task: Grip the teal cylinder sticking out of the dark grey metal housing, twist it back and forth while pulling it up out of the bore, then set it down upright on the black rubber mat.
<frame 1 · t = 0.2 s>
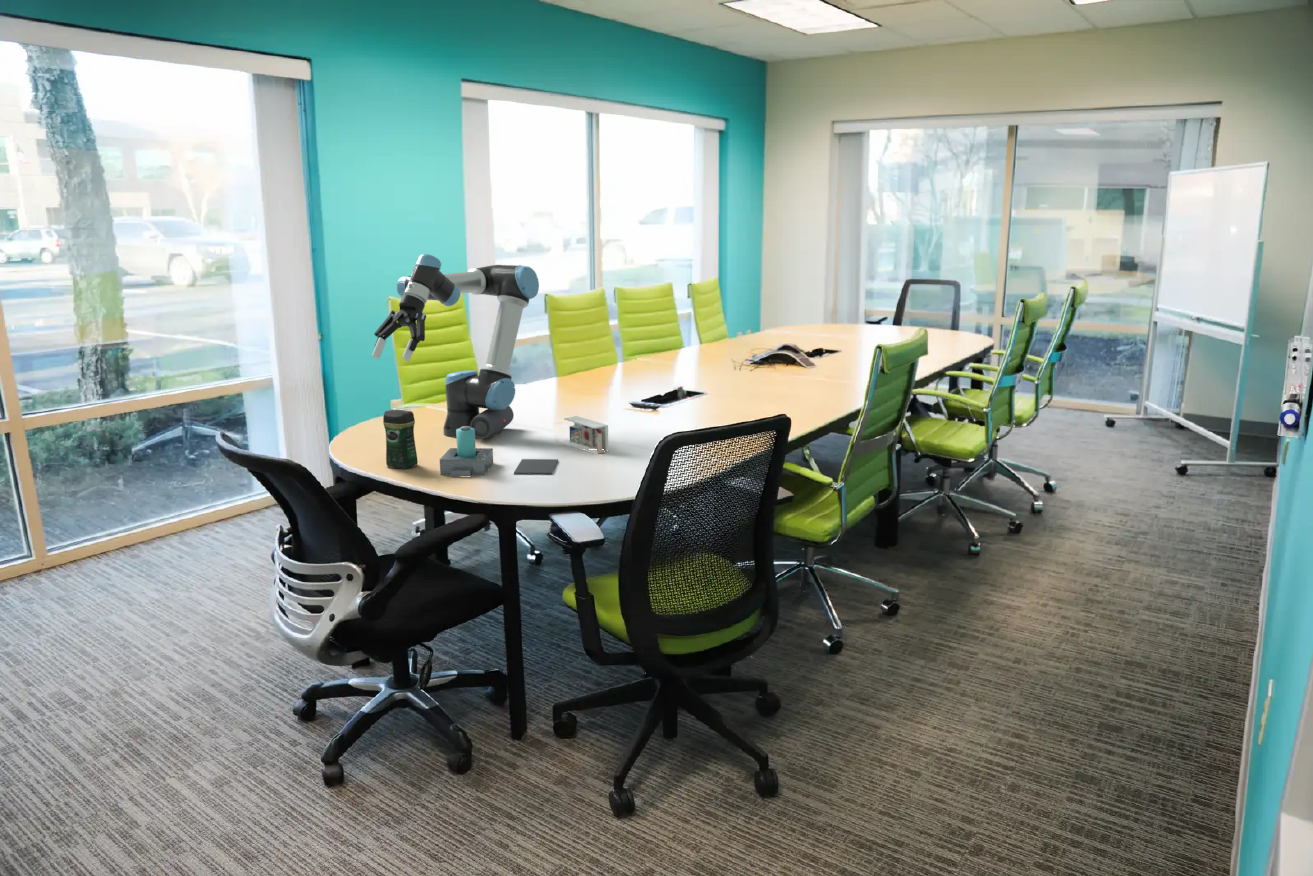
hand: (390, 358, 290), 36 cm above the table, tool tilted 35°, fingers open, 13 cm apart
coffee jar: (402, 466, 301), on the table
bluetooth speaker: (492, 435, 342), on the table, touching arm
mat: (536, 467, 299), on the table
teal cylinder: (466, 448, 296), in the housing
housing: (467, 468, 297), on the table
cigarette display: (587, 448, 324), on the table
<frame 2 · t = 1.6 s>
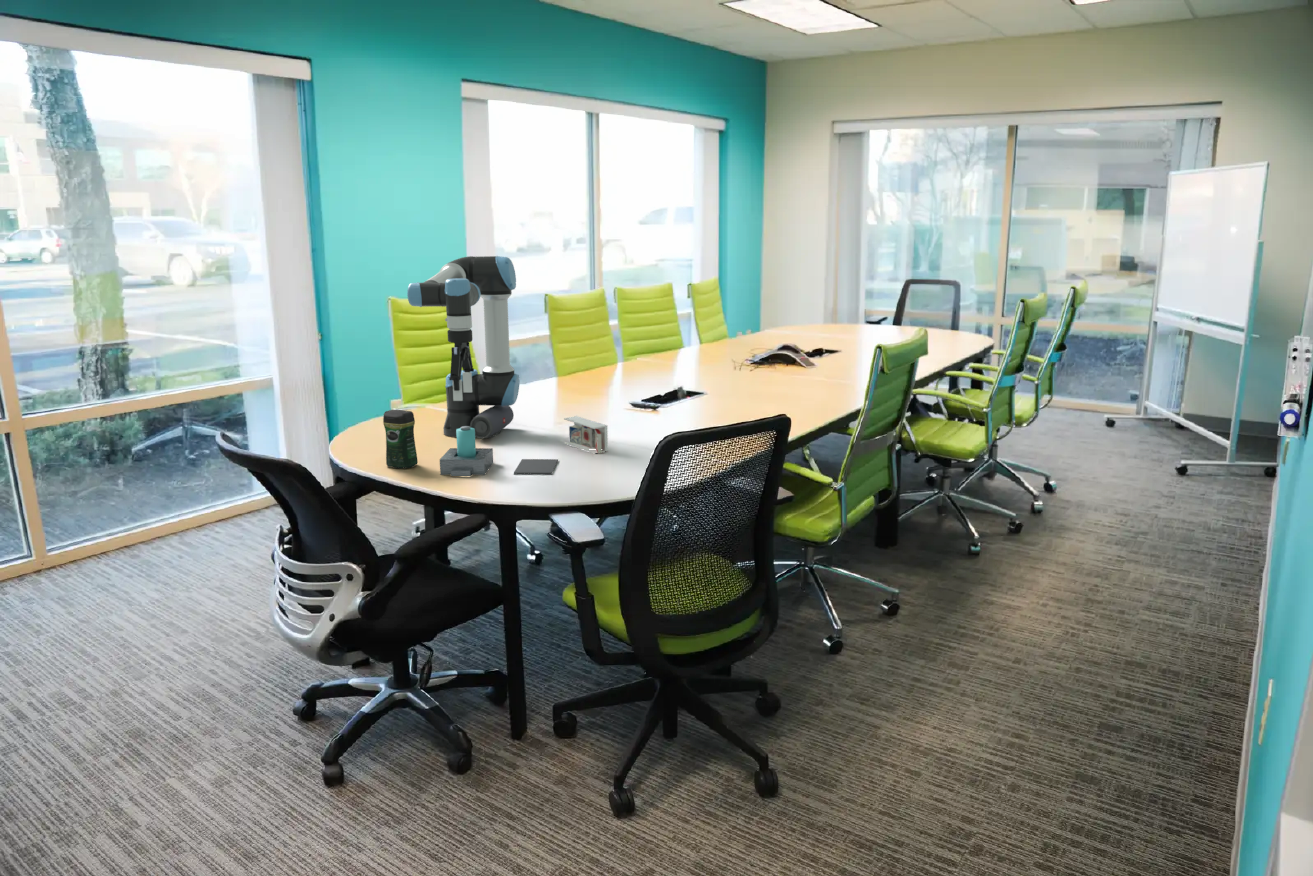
hand: (463, 396, 292), 24 cm above the table, tool pointing down, fingers open, 13 cm apart
nothing on the table moved.
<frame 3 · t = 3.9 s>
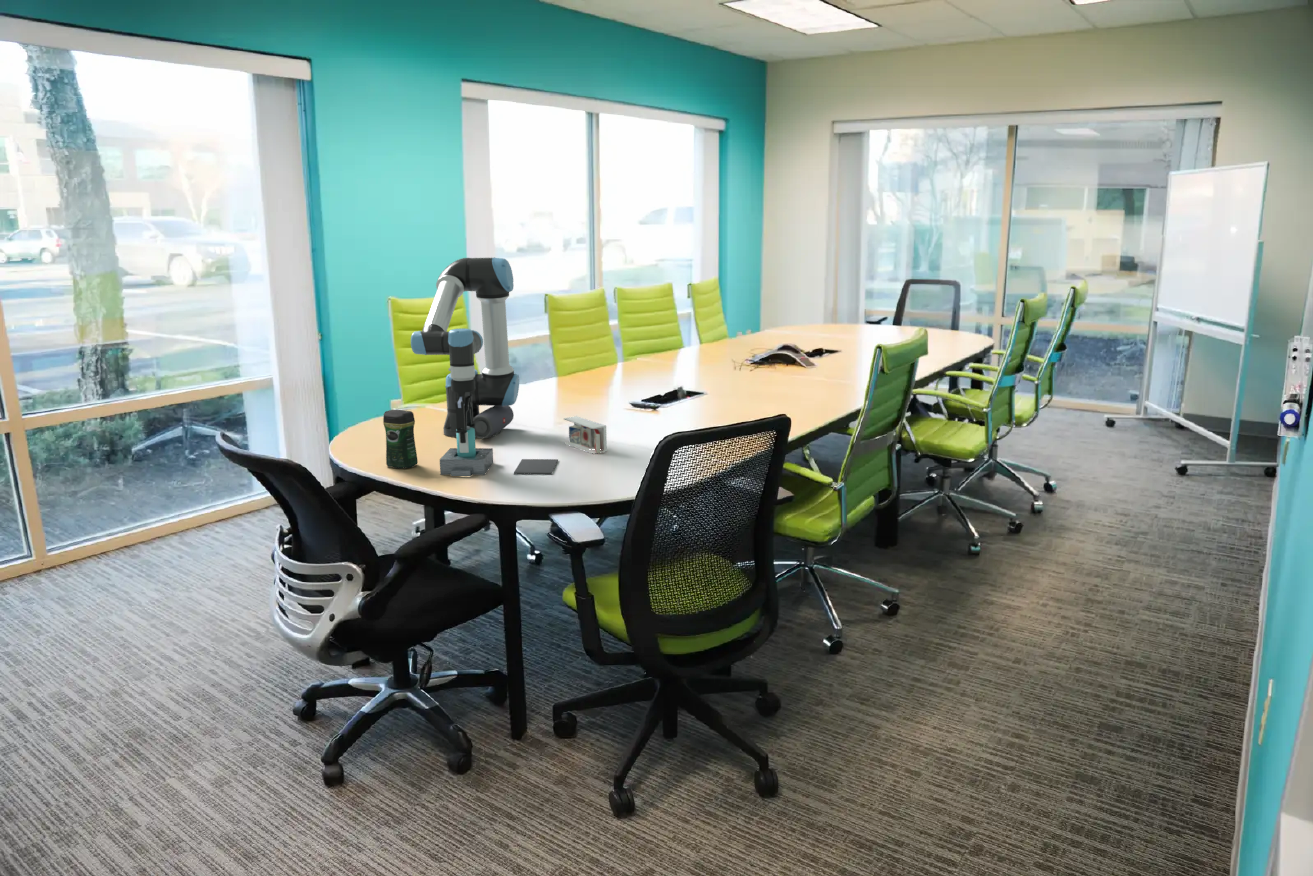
hand: (466, 449, 296), 6 cm above the table, tool pointing down, fingers closed on teal cylinder, 6 cm apart
teal cylinder: (466, 448, 296), in the housing, touching gripper
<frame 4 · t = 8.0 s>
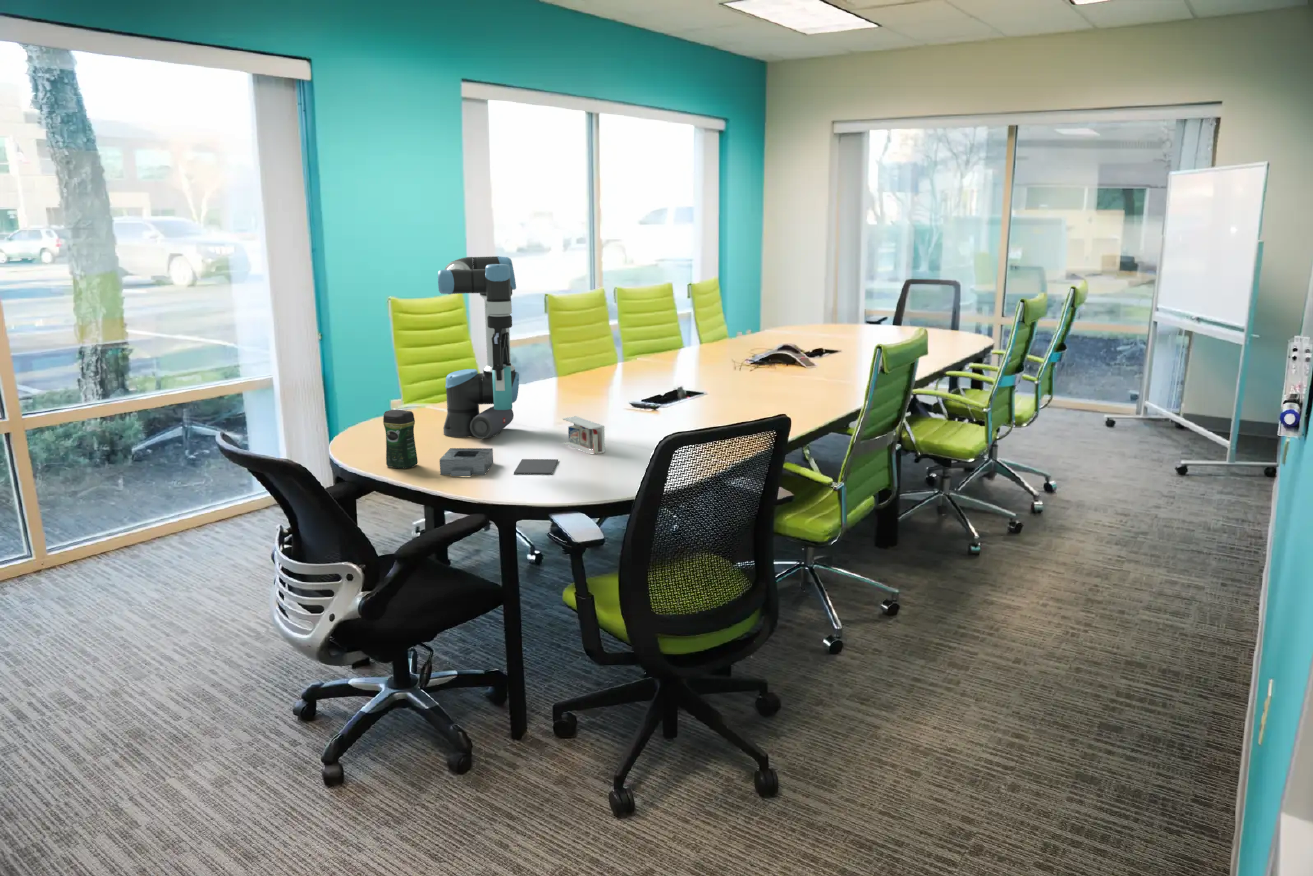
hand: (502, 388, 292), 26 cm above the table, tool pointing down, fingers closed on teal cylinder, 6 cm apart
teal cylinder: (502, 386, 292), point 27 cm above the table, touching gripper
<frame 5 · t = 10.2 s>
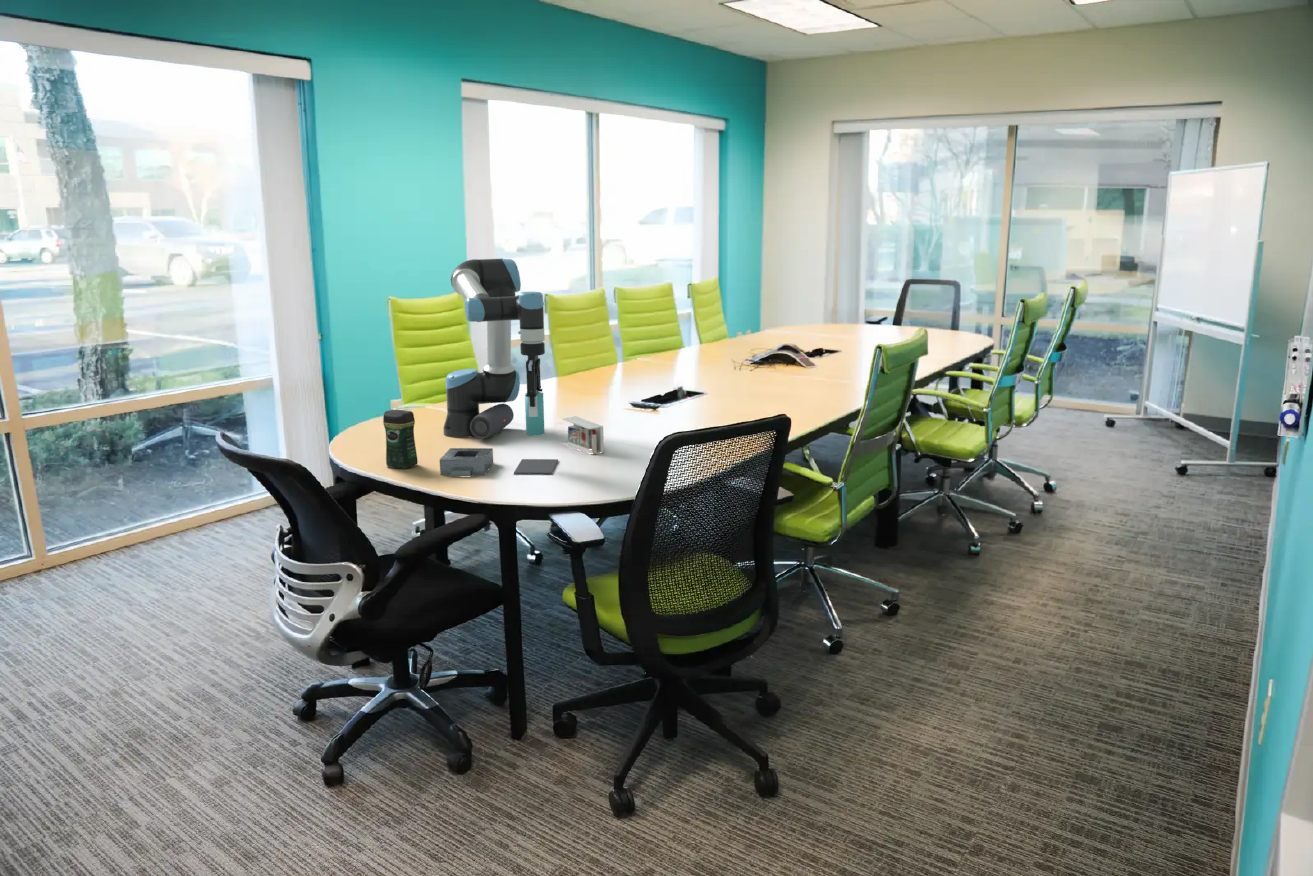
hand: (534, 414, 295), 18 cm above the table, tool pointing down, fingers closed on teal cylinder, 6 cm apart
teal cylinder: (534, 412, 294), point 18 cm above the table, touching gripper
when the fingers open (8 cm above the table, at t = 12.2 s): teal cylinder drops 1 cm, resting on mat.
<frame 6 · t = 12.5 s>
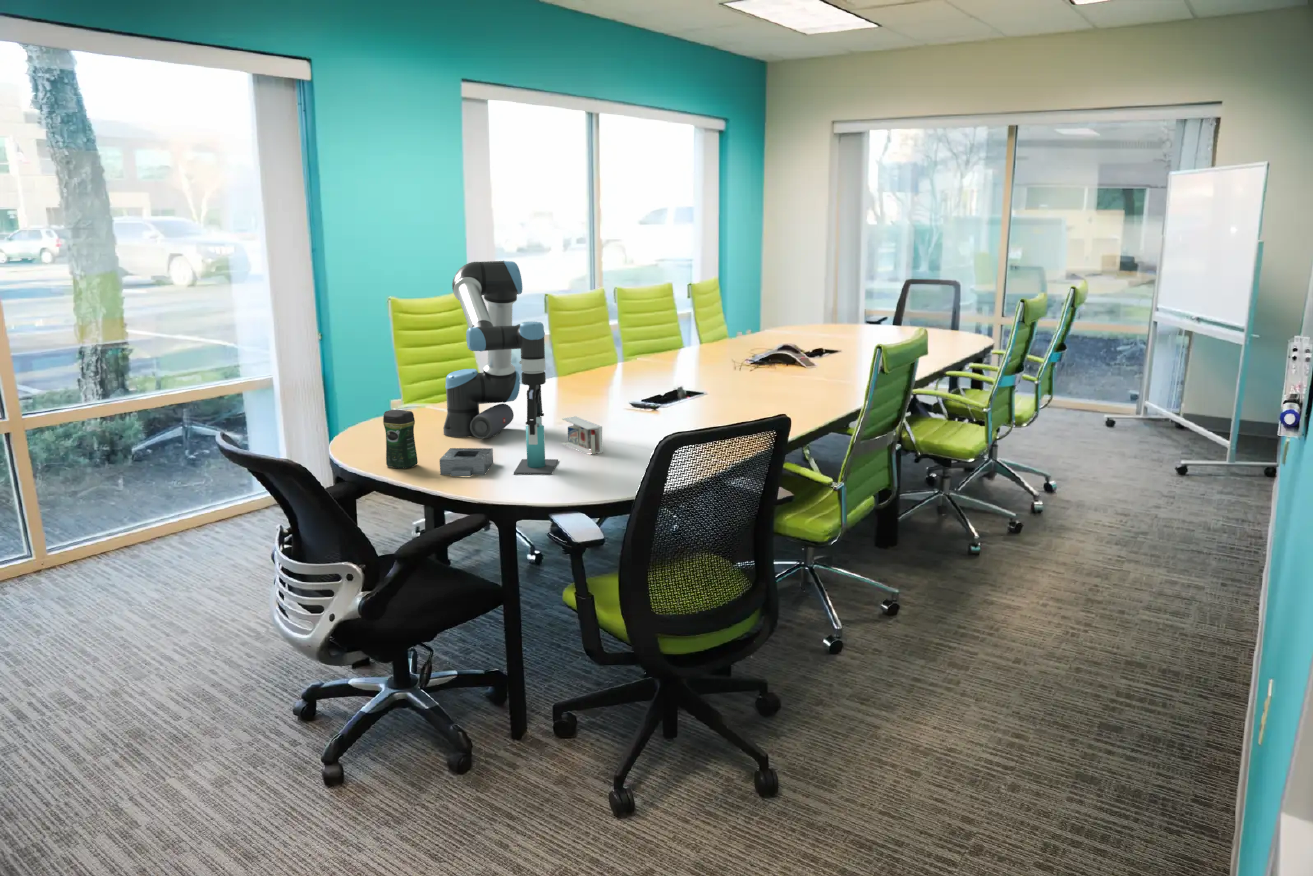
hand: (535, 440, 297), 9 cm above the table, tool pointing down, fingers open, 9 cm apart
teal cylinder: (535, 444, 297), on the mat, point 8 cm above the table
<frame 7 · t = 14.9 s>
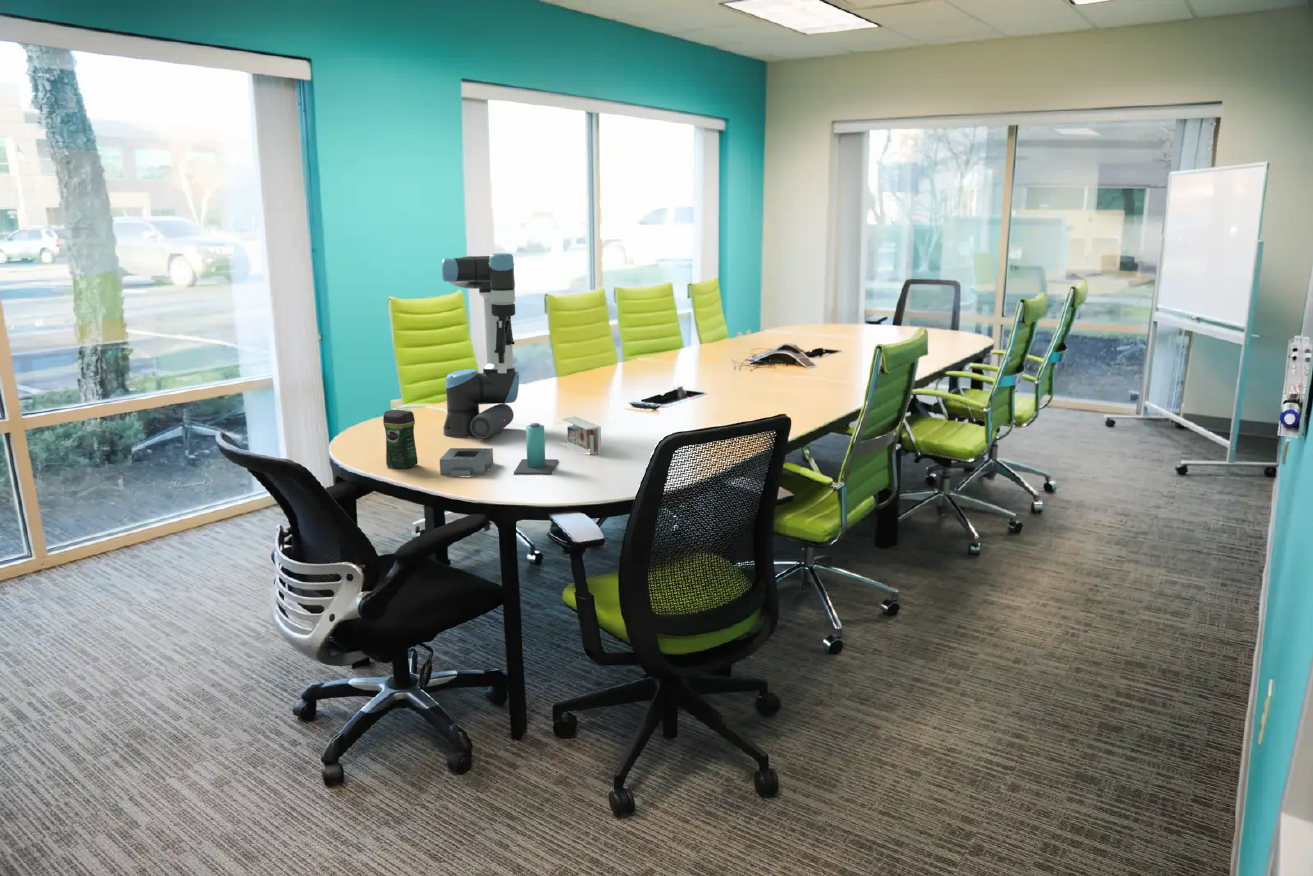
hand: (505, 368, 300), 31 cm above the table, tool pointing down, fingers open, 13 cm apart
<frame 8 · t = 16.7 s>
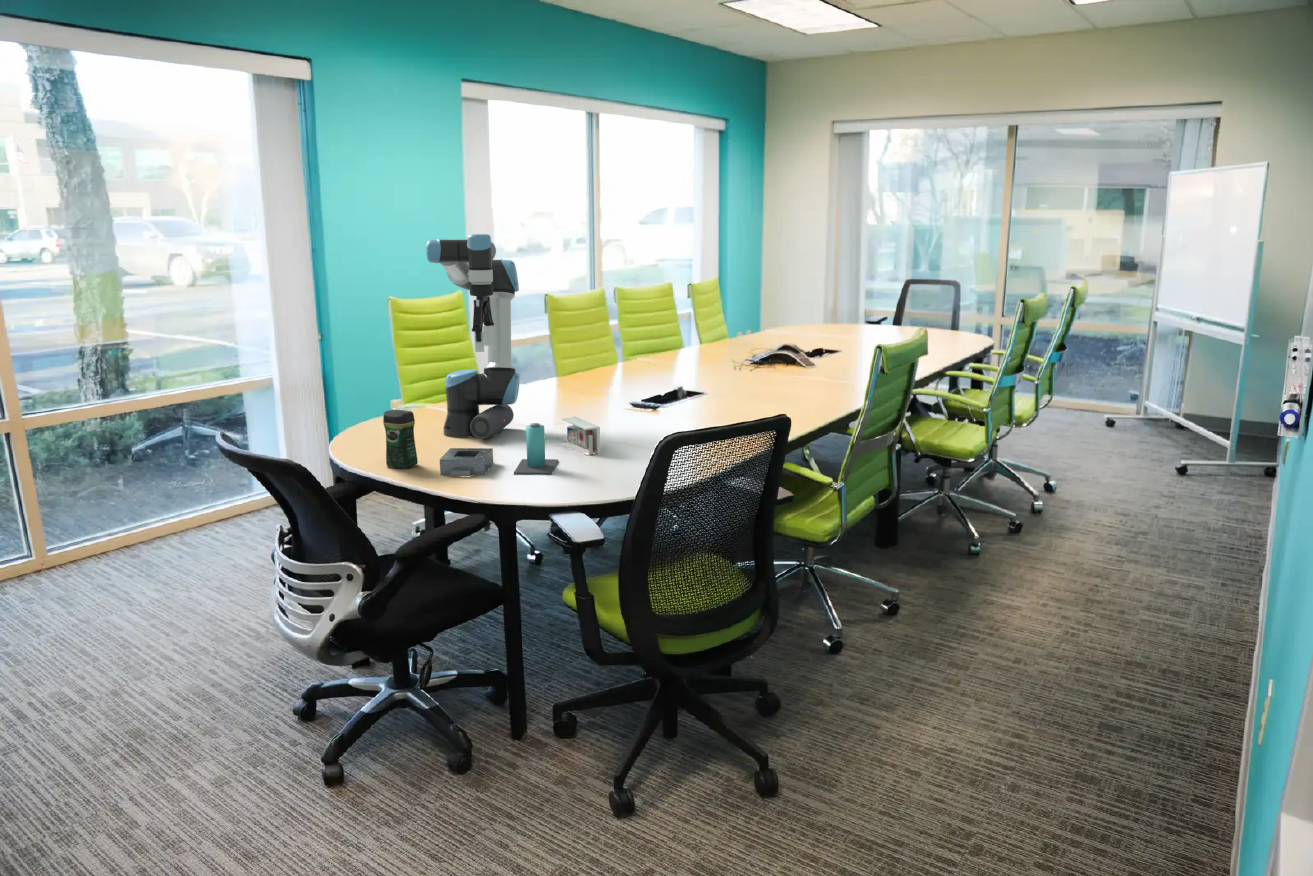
hand: (484, 348, 303), 37 cm above the table, tool pointing down, fingers open, 13 cm apart
at the end: teal cylinder inside the target area on the mat (0.1 cm from its centre), point 7.5 cm above the mat's base; teal cylinder tilted 0°; the gripper is holding nothing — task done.
